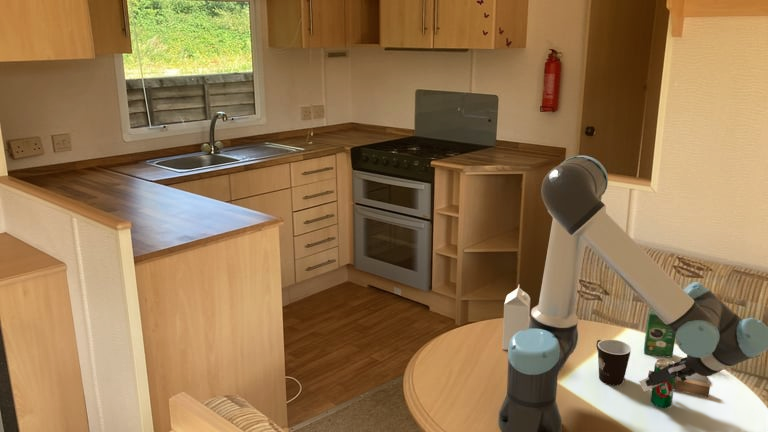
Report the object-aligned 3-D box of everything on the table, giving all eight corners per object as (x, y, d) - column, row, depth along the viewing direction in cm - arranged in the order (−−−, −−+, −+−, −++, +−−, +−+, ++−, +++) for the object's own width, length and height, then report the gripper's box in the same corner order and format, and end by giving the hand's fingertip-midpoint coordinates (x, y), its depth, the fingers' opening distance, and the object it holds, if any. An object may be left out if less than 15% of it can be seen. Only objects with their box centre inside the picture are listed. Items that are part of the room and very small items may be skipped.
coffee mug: (630, 389, 172) (633, 355, 169) (596, 386, 173) (599, 353, 170) (623, 367, 183) (626, 335, 180) (592, 364, 184) (594, 333, 181)
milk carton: (502, 349, 194) (504, 291, 188) (504, 339, 200) (507, 283, 195) (526, 353, 192) (529, 294, 186) (528, 342, 198) (531, 285, 193)
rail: (647, 383, 174) (648, 373, 174) (648, 380, 176) (649, 370, 175) (708, 397, 167) (709, 387, 166) (708, 394, 169) (710, 384, 168)
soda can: (658, 396, 168) (663, 355, 165) (675, 405, 164) (681, 363, 161) (646, 402, 165) (650, 361, 162) (663, 411, 161) (668, 369, 158)
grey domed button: (674, 382, 175) (675, 379, 174) (677, 369, 181) (678, 366, 181) (707, 389, 171) (707, 387, 171) (709, 376, 177) (709, 373, 177)
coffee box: (672, 353, 190) (677, 313, 186) (673, 358, 187) (678, 317, 184) (643, 349, 193) (648, 309, 189) (643, 354, 190) (648, 313, 186)
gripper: (688, 379, 143) (629, 405, 162) (748, 364, 149) (685, 390, 168) (672, 347, 146) (617, 376, 165) (732, 333, 152) (672, 363, 172)
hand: (652, 383), depth 167 cm, fingers open, 5 cm apart
